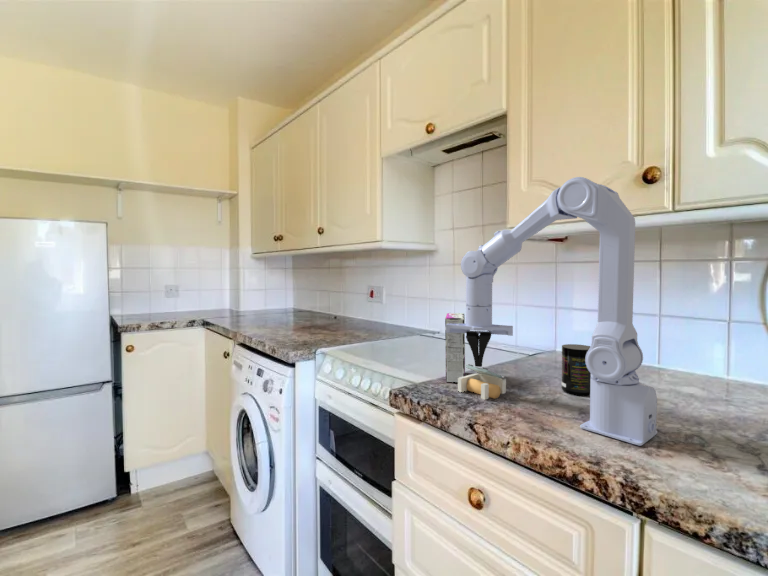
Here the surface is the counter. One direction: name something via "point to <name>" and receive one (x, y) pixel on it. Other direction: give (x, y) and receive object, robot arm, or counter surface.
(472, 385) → the tan cylinder roller
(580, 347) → the supplement container
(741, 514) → the counter surface
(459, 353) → the candy bar box
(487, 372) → the cover flap
